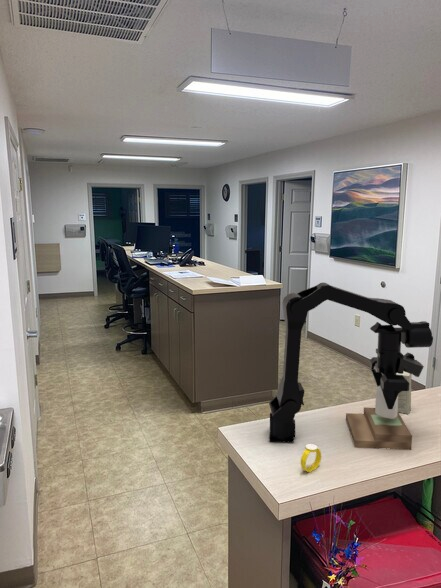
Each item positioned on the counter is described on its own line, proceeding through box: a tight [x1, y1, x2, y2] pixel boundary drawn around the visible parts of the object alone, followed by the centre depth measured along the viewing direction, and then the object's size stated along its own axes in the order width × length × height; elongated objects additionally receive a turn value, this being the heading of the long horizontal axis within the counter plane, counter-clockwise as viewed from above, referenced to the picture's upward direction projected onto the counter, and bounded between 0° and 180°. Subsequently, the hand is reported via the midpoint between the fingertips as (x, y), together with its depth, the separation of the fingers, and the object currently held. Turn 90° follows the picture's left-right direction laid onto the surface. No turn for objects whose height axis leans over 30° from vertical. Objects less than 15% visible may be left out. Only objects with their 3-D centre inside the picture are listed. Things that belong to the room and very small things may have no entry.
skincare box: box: [396, 371, 412, 415], centre depth 133 cm, size 6×4×12 cm
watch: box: [300, 443, 322, 473], centre depth 104 cm, size 6×3×6 cm, turn 128°
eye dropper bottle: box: [374, 386, 399, 419], centre depth 118 cm, size 4×6×12 cm
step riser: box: [345, 406, 413, 451], centre depth 120 cm, size 14×16×4 cm
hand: (386, 402), depth 118 cm, fingers closed on eye dropper bottle, 7 cm apart
